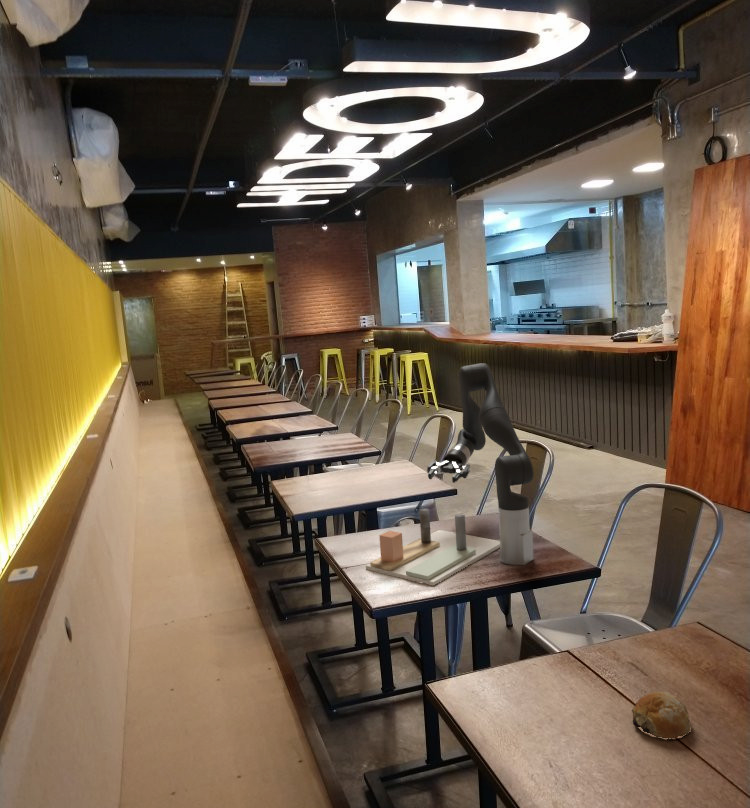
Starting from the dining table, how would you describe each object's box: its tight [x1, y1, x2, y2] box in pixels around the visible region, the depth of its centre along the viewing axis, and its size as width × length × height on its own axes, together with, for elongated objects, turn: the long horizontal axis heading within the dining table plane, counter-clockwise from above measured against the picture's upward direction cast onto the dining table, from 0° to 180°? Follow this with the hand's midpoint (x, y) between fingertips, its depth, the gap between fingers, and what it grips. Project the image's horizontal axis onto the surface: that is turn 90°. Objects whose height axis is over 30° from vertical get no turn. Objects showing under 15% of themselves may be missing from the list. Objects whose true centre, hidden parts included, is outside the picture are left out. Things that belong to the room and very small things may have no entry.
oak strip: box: [369, 508, 440, 571], centre depth 226 cm, size 8×26×12 cm, turn 140°
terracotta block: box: [379, 530, 404, 563], centre depth 221 cm, size 5×5×8 cm
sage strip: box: [406, 513, 476, 580], centre depth 217 cm, size 8×26×12 cm, turn 140°
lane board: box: [365, 529, 500, 586], centre depth 228 cm, size 26×40×1 cm, turn 140°
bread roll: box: [631, 691, 691, 739], centre depth 132 cm, size 10×10×8 cm
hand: (441, 478), depth 241 cm, fingers open, 8 cm apart
